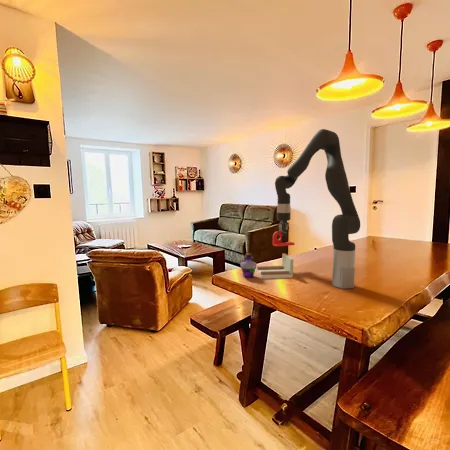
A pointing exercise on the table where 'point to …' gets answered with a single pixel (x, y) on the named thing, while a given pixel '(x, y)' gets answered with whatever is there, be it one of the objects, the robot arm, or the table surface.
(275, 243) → the bracket
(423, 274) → the table surface
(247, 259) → the potion bottle
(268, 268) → the cleat board
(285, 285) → the table surface
